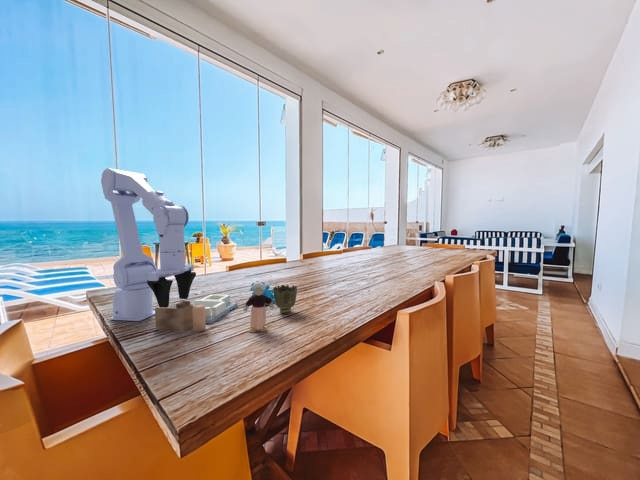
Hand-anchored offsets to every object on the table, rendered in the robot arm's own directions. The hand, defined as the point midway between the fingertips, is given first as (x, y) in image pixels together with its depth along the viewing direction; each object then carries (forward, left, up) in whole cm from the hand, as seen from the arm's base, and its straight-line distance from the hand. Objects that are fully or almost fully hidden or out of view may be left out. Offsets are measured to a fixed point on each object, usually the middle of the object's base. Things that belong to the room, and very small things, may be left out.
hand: (174, 302), depth 68 cm
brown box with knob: (0, 0, -7) cm, 7 cm away
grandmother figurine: (+23, +2, -7) cm, 24 cm away
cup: (+26, +16, -7) cm, 31 cm away
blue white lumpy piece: (+16, +25, -7) cm, 30 cm away
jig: (+2, +12, -7) cm, 14 cm away
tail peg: (+7, 0, -7) cm, 10 cm away
